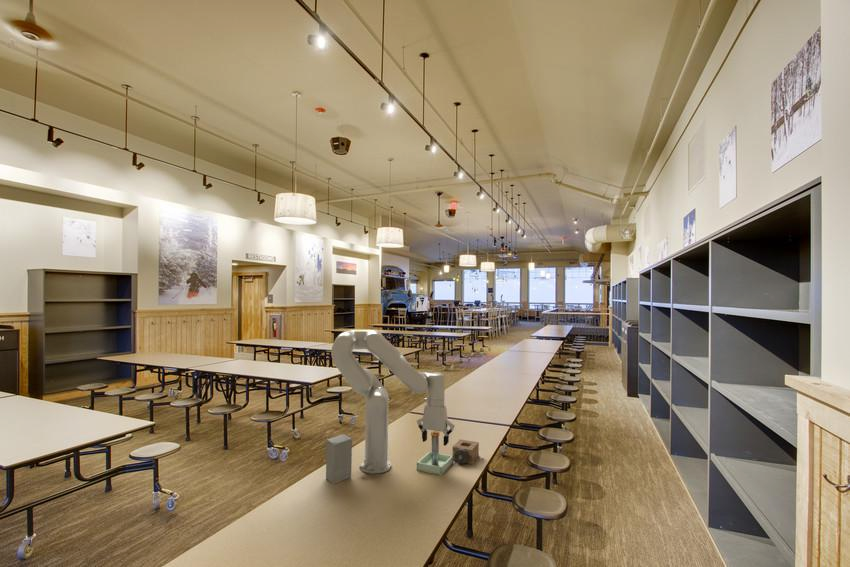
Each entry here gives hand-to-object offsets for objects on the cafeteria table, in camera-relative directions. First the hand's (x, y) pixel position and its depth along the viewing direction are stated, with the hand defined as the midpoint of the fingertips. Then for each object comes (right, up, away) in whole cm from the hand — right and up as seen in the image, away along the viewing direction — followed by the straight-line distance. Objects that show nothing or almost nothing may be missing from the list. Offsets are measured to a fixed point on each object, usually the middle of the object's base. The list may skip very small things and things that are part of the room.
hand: (435, 442), depth 164 cm
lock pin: (0, -9, 0) cm, 9 cm away
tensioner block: (+13, -10, +7) cm, 18 cm away
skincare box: (-38, -9, -13) cm, 42 cm away
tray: (0, -10, 0) cm, 10 cm away
